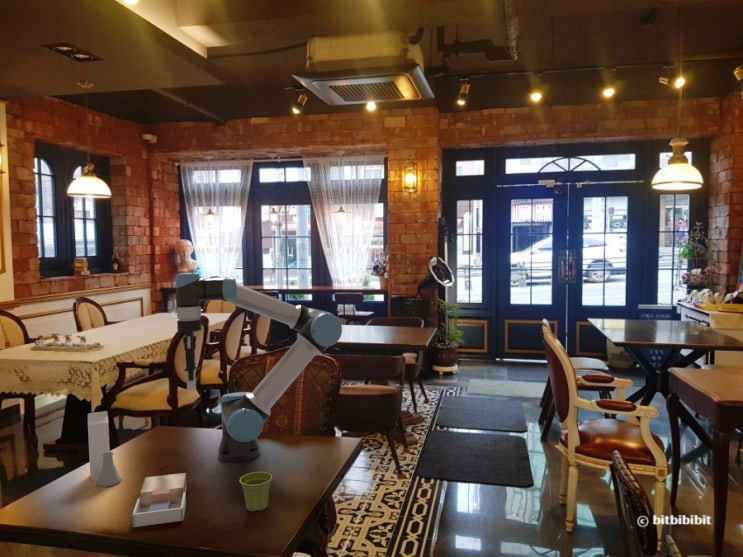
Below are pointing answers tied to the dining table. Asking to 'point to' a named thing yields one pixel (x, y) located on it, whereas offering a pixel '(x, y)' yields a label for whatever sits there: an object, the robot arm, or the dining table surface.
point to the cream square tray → (163, 487)
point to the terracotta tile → (161, 496)
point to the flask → (108, 472)
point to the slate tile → (159, 506)
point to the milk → (97, 441)
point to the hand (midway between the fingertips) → (191, 389)
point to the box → (158, 514)
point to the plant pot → (256, 490)
